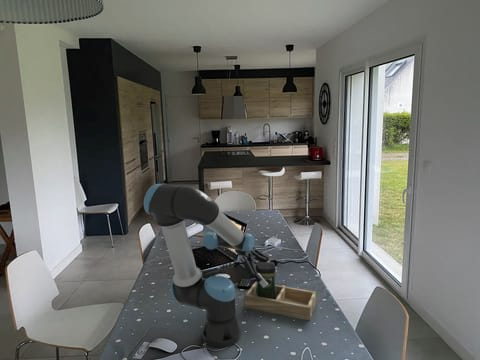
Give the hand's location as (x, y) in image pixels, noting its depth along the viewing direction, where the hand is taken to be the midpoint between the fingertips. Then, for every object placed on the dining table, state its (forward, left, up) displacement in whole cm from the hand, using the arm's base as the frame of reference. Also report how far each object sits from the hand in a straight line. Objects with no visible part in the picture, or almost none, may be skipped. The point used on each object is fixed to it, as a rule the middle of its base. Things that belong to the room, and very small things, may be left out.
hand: (270, 279), depth 164 cm
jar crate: (0, -5, -12) cm, 13 cm away
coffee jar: (0, +2, -11) cm, 11 cm away
